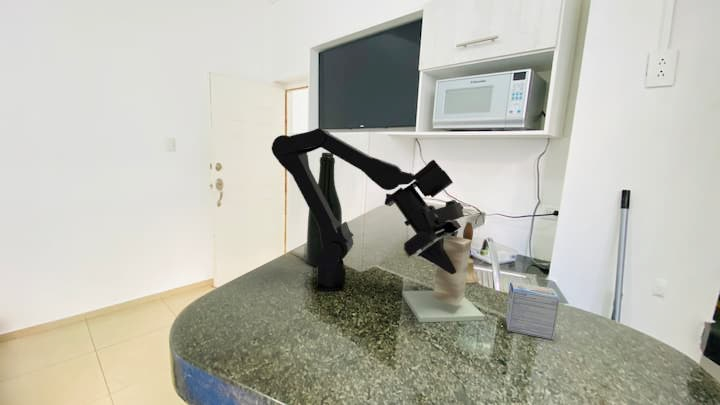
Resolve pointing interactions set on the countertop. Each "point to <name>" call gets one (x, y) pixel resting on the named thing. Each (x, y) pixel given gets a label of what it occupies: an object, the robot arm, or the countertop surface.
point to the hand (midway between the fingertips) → (458, 269)
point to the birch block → (454, 285)
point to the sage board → (439, 308)
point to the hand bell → (471, 273)
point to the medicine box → (532, 310)
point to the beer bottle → (330, 194)
